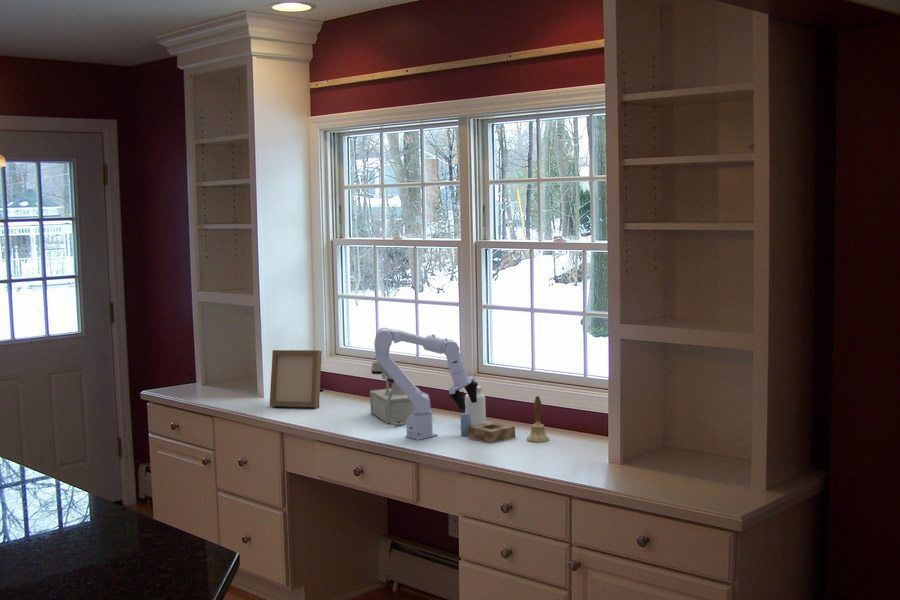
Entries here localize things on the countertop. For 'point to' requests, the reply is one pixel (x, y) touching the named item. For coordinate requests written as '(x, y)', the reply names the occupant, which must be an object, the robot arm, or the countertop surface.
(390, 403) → the grey machine
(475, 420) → the pill bottle
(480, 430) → the socket block
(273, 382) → the photo frame
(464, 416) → the peg
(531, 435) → the hand bell
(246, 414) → the countertop surface
